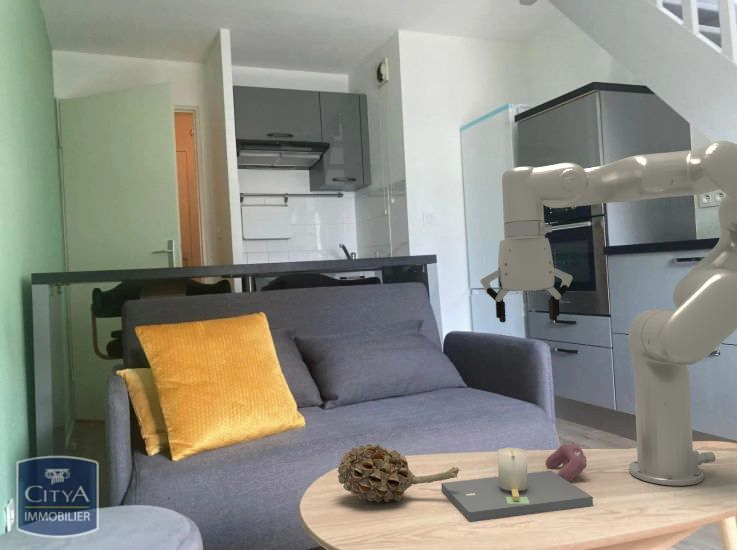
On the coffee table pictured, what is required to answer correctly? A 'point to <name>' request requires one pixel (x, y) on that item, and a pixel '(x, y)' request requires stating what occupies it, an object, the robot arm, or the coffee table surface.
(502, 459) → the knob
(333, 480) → the coffee table surface
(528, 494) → the dial board
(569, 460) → the video game controller
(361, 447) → the pine cone
